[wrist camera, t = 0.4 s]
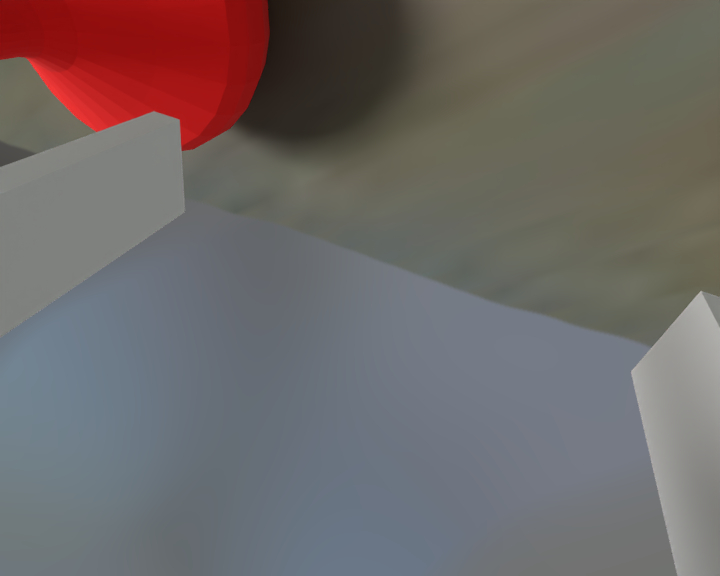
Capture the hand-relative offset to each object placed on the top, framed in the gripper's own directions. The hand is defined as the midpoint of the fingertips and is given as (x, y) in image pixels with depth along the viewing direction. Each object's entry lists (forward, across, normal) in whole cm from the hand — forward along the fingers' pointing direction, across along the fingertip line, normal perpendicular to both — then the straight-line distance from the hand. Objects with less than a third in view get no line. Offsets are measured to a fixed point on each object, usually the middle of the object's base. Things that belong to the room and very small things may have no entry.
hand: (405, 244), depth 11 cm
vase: (+26, -24, -1) cm, 36 cm away
